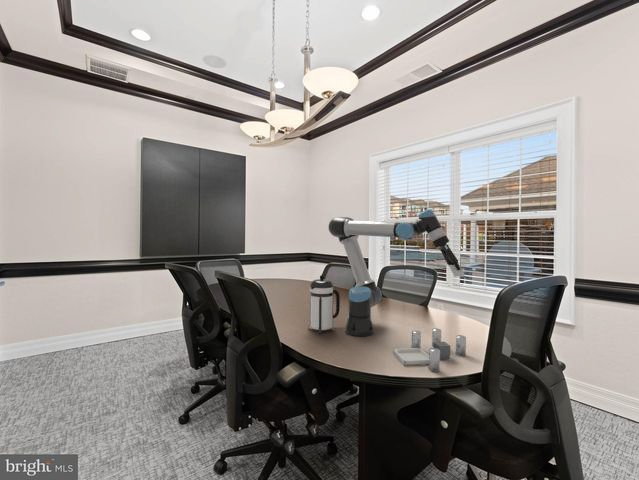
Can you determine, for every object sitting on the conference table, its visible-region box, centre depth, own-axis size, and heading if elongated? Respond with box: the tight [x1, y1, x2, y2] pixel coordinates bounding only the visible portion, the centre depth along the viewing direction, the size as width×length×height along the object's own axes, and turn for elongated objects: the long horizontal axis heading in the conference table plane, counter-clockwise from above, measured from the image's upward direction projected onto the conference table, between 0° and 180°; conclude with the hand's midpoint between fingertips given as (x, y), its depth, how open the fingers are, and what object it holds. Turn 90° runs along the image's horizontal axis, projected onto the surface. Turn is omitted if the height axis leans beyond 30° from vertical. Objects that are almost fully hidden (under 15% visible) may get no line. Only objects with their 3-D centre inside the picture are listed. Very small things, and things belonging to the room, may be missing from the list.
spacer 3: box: [428, 347, 441, 373], centre depth 120 cm, size 4×4×8 cm
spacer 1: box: [411, 329, 422, 349], centre depth 141 cm, size 4×4×8 cm
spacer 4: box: [455, 334, 467, 357], centre depth 135 cm, size 4×4×8 cm
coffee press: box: [307, 274, 341, 335], centre depth 168 cm, size 17×16×30 cm
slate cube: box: [432, 341, 451, 361], centre depth 132 cm, size 5×5×6 cm
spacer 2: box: [431, 327, 442, 348], centre depth 145 cm, size 4×4×8 cm
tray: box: [392, 347, 429, 367], centre depth 131 cm, size 13×13×2 cm
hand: (459, 276), depth 152 cm, fingers open, 13 cm apart
